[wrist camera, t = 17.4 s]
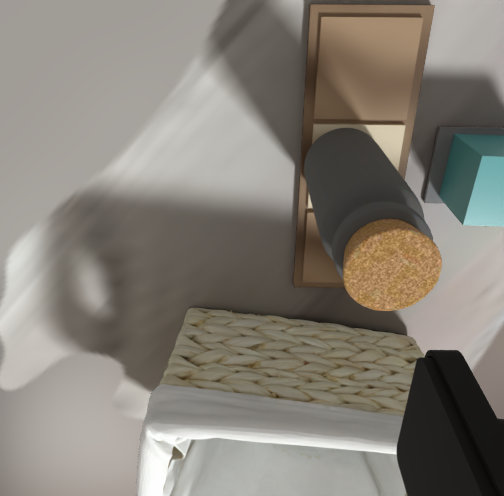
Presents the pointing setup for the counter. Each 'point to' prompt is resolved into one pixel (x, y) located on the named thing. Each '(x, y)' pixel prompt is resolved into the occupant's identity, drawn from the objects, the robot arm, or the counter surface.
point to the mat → (442, 154)
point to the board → (357, 99)
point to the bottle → (370, 222)
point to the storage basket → (276, 409)
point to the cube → (475, 179)
